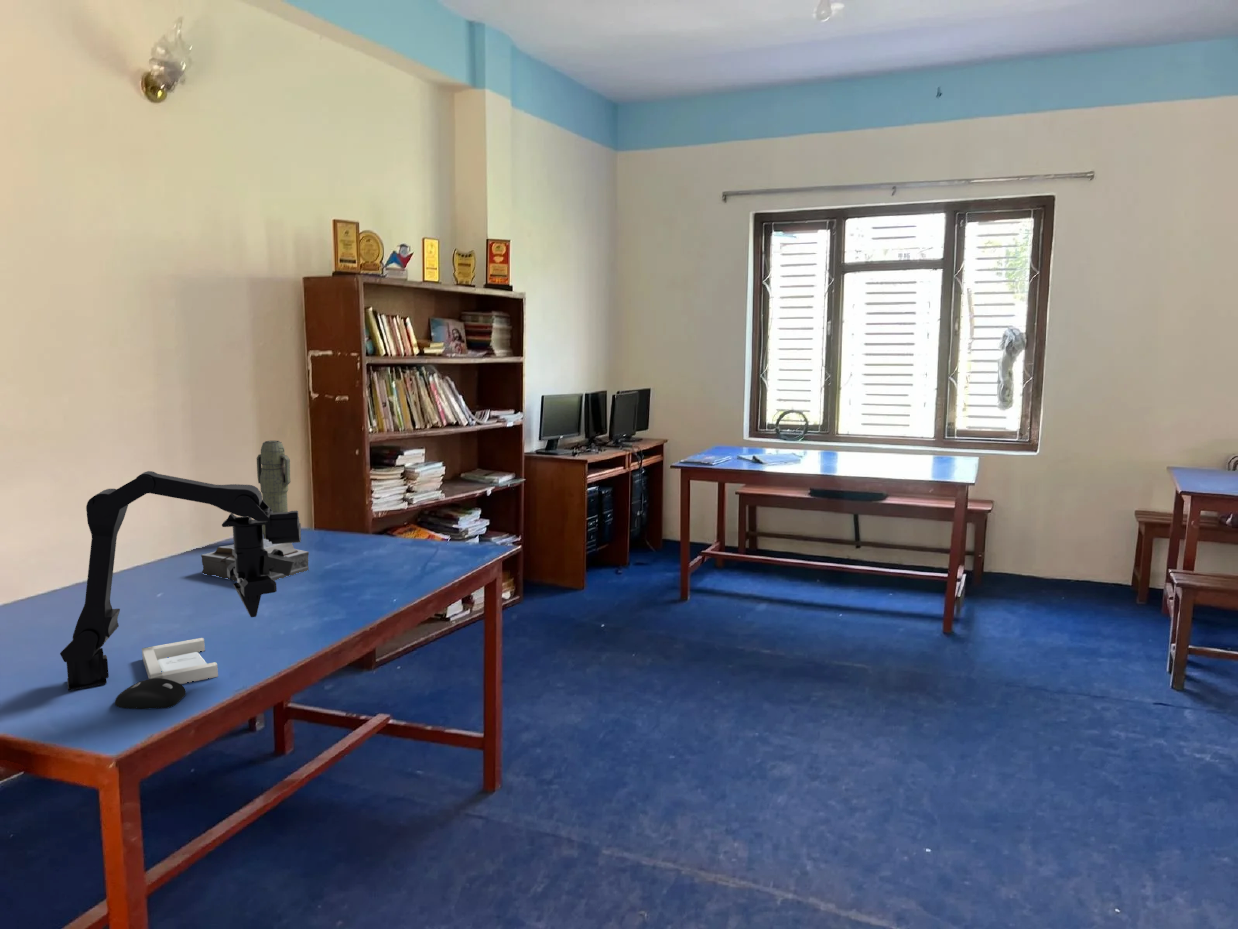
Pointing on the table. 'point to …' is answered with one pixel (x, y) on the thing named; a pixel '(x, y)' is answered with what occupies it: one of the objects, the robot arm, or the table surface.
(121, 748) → the table surface
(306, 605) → the table surface
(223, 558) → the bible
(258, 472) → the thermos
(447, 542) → the table surface
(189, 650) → the dock
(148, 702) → the computer mouse
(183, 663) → the external hard drive
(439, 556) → the table surface
